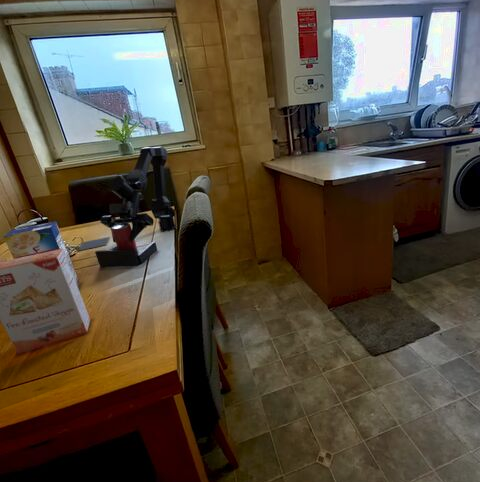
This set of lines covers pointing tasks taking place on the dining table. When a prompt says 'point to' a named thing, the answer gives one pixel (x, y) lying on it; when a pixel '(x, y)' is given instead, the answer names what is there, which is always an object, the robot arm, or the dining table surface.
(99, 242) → the mat
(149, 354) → the dining table surface
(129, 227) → the can
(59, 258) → the cracker box
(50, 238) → the blue white cardboard box
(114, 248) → the compartment
